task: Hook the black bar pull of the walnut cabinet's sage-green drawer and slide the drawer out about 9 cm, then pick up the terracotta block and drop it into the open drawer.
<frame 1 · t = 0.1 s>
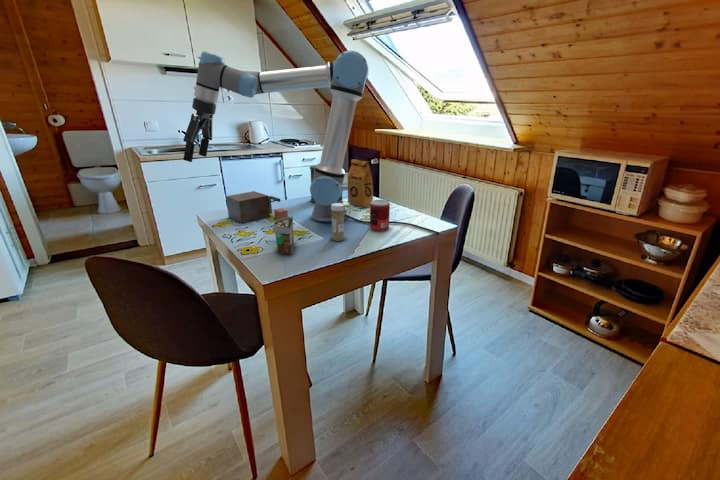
hand: (195, 158, 129), 28 cm above the table, tool tilted 20°, fingers open, 13 cm apart
cabinet: (249, 216, 153), on the table
drawer: (258, 204, 155), point 5 cm above the table, slide at 0.5 cm
food container: (283, 250, 119), on the table
block: (281, 218, 151), on the table
sprinkles bottle: (338, 239, 129), on the table
coffee package: (360, 205, 173), on the table
canned food: (379, 228, 140), on the table
container: (319, 201, 179), on the table
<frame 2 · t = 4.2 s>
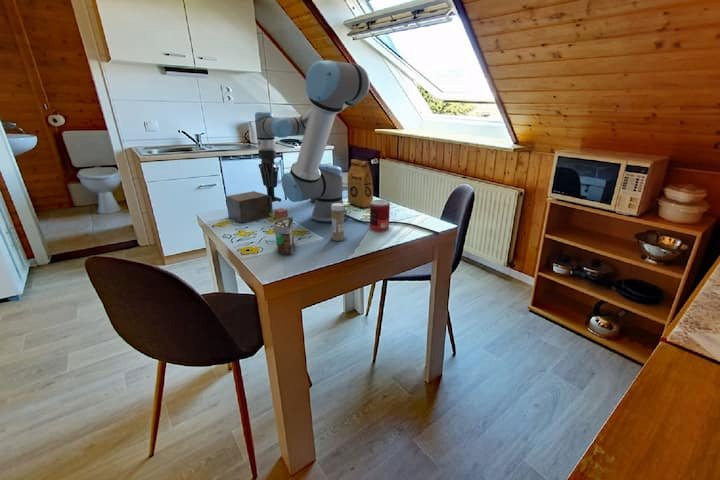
hand: (271, 201, 160), 5 cm above the table, tool pointing down, fingers closed
drawer: (259, 204, 156), point 5 cm above the table, slide at 1.0 cm, touching gripper
everything else where it was.
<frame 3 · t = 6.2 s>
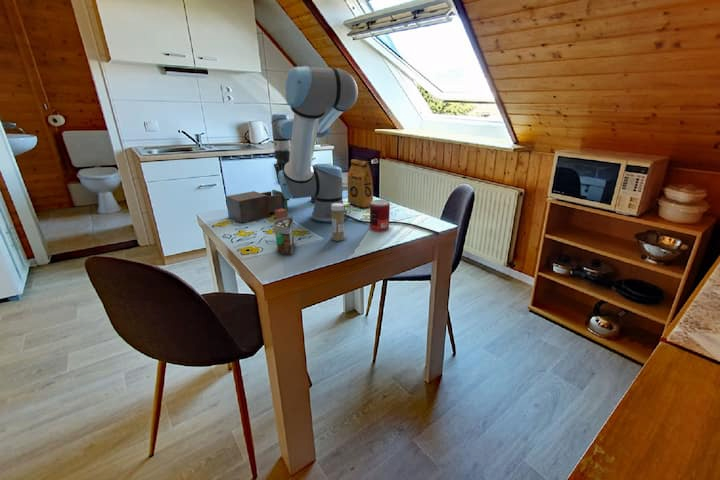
hand: (286, 200, 165), 4 cm above the table, tool pointing down, fingers closed
drawer: (274, 200, 161), point 5 cm above the table, slide at 8.9 cm, touching gripper
everything else where it was.
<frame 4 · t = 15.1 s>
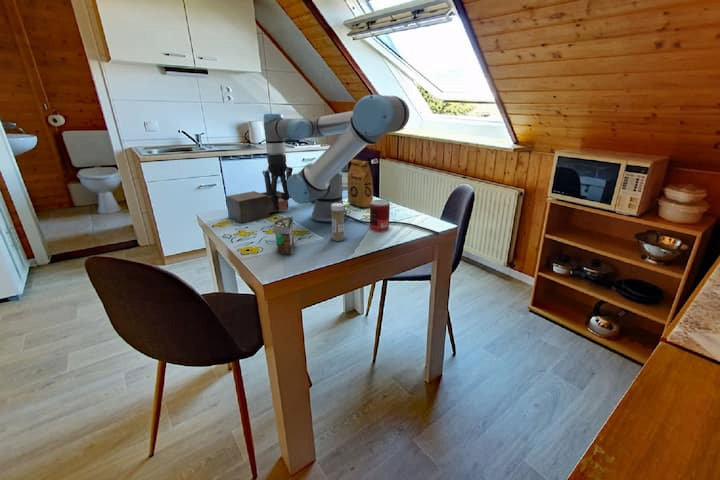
hand: (281, 208, 149), 5 cm above the table, tool pointing down, fingers closed on block, 4 cm apart
drawer: (274, 200, 161), point 5 cm above the table, slide at 8.9 cm
block: (281, 209, 149), point 4 cm above the table, touching gripper
everything else where it was.
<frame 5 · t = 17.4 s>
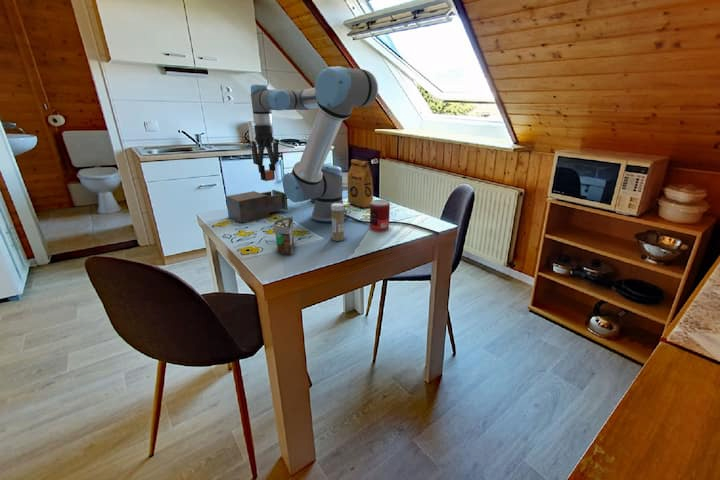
hand: (267, 179, 155), 15 cm above the table, tool pointing down, fingers closed on block, 4 cm apart
block: (267, 179, 155), point 15 cm above the table, touching gripper
everything else where it was.
when the fingers open (6 cm above the table, at t = 20.1 s): block drops 3 cm, resting on drawer.
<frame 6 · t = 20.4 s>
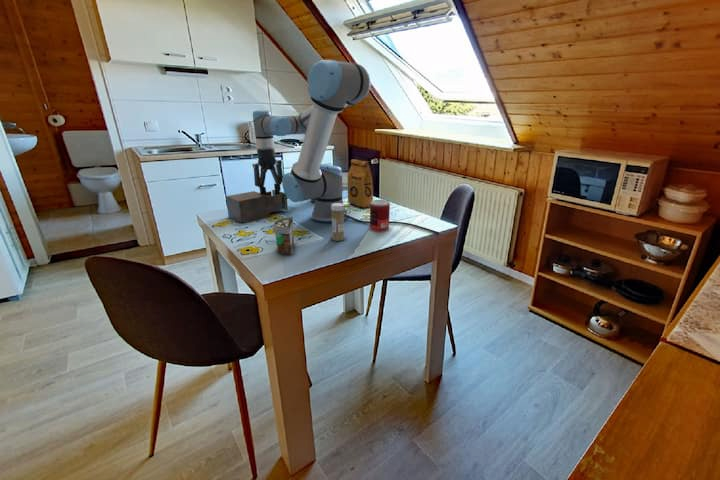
hand: (271, 199, 159), 6 cm above the table, tool pointing down, fingers open, 6 cm apart
drawer: (275, 200, 161), point 5 cm above the table, slide at 9.0 cm, touching block
block: (270, 207, 160), point 2 cm above the table, touching drawer
everything else where it was.
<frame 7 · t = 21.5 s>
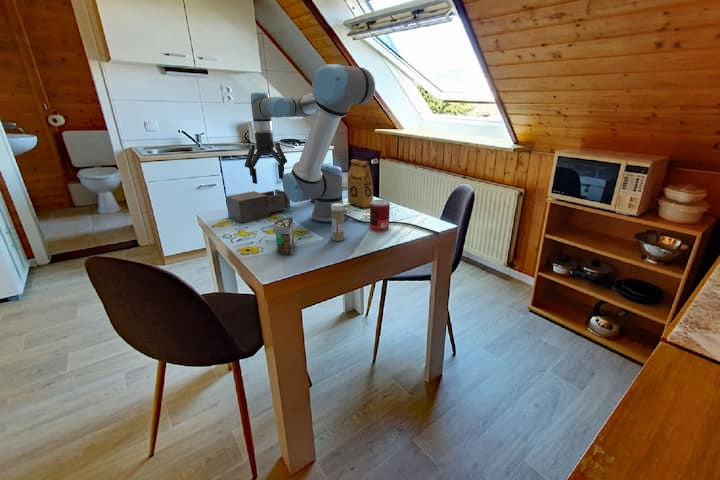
hand: (268, 181, 155), 14 cm above the table, tool pointing down, fingers open, 13 cm apart
drawer: (277, 200, 162), point 5 cm above the table, slide at 10.4 cm, touching block
block: (272, 207, 161), point 2 cm above the table, touching drawer
everything else where it was.
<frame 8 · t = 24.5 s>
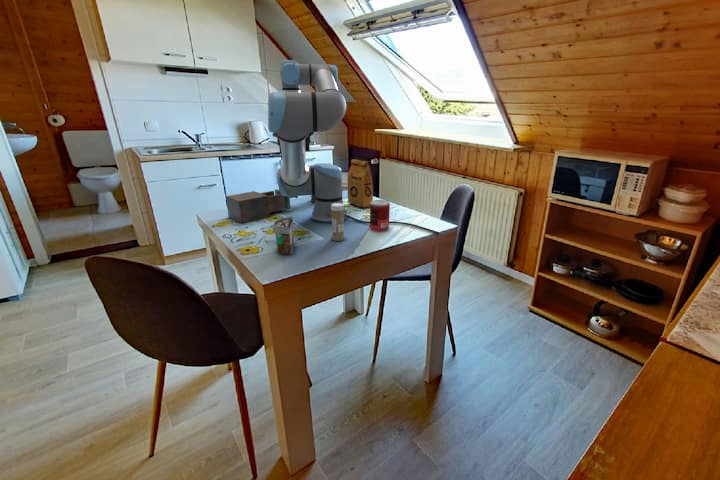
hand: (295, 152, 155), 27 cm above the table, tool pointing down, fingers open, 13 cm apart
nothing on the table moved.
at the end: drawer slide at 10.4 cm; block inside the target area in the drawer (2.0 cm from its centre), point 2.0 cm above the cabinet's base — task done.
